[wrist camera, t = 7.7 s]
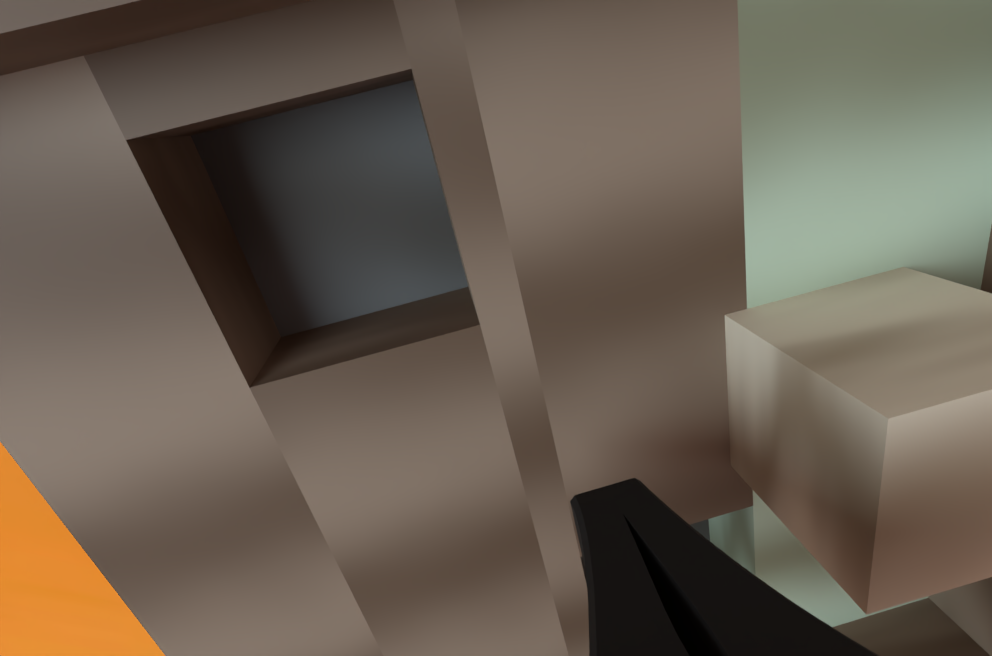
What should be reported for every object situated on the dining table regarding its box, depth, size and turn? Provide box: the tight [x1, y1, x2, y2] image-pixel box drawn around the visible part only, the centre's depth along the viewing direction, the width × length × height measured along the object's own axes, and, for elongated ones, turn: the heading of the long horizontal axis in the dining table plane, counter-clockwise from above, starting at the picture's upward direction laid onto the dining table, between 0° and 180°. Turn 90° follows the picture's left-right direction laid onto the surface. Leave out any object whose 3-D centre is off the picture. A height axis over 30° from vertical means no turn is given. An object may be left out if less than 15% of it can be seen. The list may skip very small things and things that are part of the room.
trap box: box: [0, 0, 992, 656], centre depth 13 cm, size 22×23×6 cm
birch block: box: [725, 267, 992, 615], centre depth 11 cm, size 4×4×4 cm
